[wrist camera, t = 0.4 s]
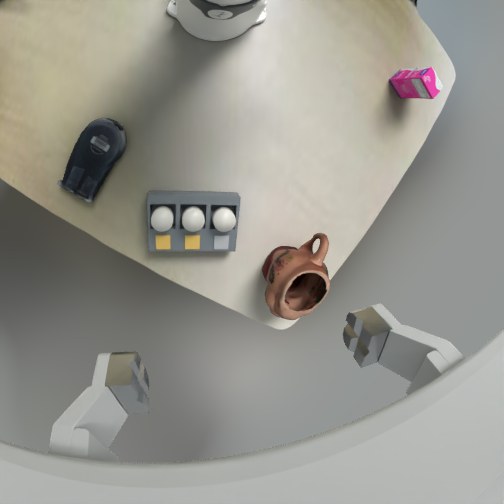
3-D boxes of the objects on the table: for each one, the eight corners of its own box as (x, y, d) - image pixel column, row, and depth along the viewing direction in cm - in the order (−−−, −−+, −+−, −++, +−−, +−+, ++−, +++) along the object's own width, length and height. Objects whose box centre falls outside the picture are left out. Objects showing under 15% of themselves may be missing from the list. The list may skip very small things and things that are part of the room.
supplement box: (399, 68, 46) (433, 66, 36) (411, 87, 49) (444, 88, 39) (387, 79, 47) (421, 77, 37) (399, 98, 50) (434, 100, 40)
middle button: (182, 206, 48) (182, 210, 46) (204, 206, 49) (205, 210, 47) (182, 226, 49) (181, 231, 47) (203, 226, 50) (204, 231, 48)
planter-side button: (213, 206, 49) (214, 210, 47) (234, 207, 50) (236, 211, 48) (211, 226, 51) (213, 231, 49) (232, 227, 52) (234, 232, 50)
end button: (152, 205, 46) (150, 210, 44) (173, 205, 47) (173, 210, 45) (152, 226, 48) (151, 231, 46) (173, 226, 49) (173, 231, 47)
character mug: (277, 209, 56) (304, 235, 44) (324, 224, 60) (357, 251, 48) (245, 289, 63) (261, 329, 51) (290, 297, 67) (312, 333, 55)
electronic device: (102, 199, 48) (137, 132, 42) (89, 209, 43) (124, 135, 37) (69, 176, 45) (100, 109, 39) (54, 184, 40) (84, 110, 34)
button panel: (149, 190, 48) (146, 195, 45) (237, 192, 52) (240, 197, 49) (150, 243, 53) (148, 252, 49) (232, 243, 57) (235, 252, 54)
